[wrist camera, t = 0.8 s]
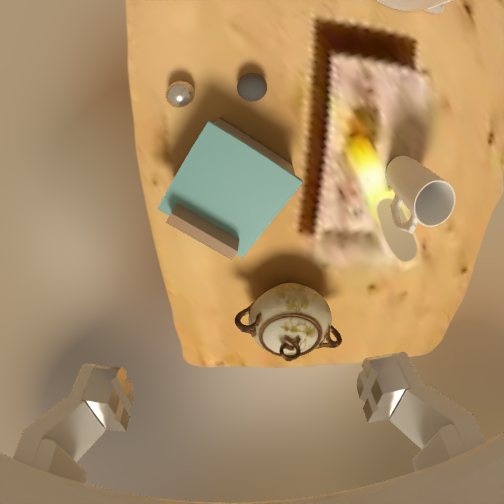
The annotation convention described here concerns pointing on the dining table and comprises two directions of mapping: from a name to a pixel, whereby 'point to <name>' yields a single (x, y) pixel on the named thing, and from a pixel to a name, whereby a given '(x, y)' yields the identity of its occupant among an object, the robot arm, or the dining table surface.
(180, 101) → the steel ball
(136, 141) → the dining table surface
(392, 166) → the mug
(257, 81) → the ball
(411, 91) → the dining table surface
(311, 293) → the sugar bowl
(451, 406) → the robot arm
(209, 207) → the lid
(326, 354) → the dining table surface
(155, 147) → the dining table surface
